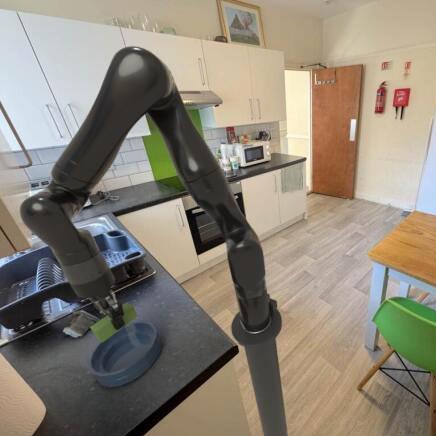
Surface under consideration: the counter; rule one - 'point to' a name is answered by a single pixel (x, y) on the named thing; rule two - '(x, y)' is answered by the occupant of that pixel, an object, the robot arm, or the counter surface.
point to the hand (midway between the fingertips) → (116, 324)
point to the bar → (105, 327)
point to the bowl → (125, 354)
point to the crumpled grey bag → (80, 323)
